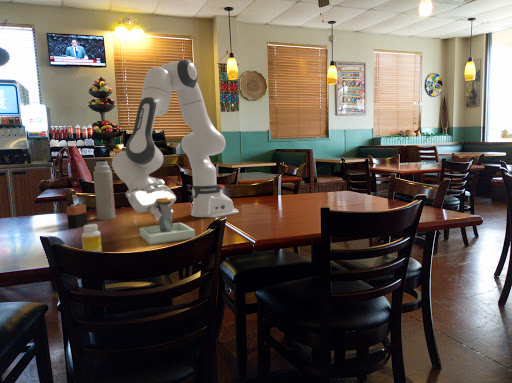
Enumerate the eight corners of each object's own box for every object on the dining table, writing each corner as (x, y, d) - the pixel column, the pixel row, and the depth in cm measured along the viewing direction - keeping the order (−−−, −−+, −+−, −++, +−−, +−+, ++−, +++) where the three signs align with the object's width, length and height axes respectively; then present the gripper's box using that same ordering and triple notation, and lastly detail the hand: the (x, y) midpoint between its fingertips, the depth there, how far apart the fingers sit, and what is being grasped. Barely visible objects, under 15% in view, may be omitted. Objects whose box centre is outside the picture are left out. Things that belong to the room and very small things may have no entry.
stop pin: (171, 228, 142) (169, 196, 141) (176, 231, 137) (174, 198, 136) (156, 230, 140) (154, 198, 138) (160, 233, 135) (158, 200, 133)
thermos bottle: (118, 216, 183) (114, 158, 179) (109, 220, 175) (104, 159, 172) (103, 216, 185) (99, 159, 181) (93, 219, 177) (88, 159, 173)
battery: (88, 225, 166) (86, 202, 164) (75, 228, 159) (73, 205, 158) (80, 224, 167) (78, 202, 166) (67, 228, 161) (65, 204, 160)
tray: (181, 229, 150) (181, 222, 149) (195, 238, 136) (194, 229, 135) (140, 235, 142) (139, 227, 142) (150, 245, 128) (149, 236, 128)
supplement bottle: (82, 255, 119) (79, 225, 118) (99, 251, 122) (97, 222, 121) (85, 259, 115) (83, 227, 113) (104, 255, 118) (101, 225, 116)
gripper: (127, 185, 130) (152, 214, 127) (165, 179, 148) (187, 205, 145) (118, 197, 132) (142, 226, 129) (156, 190, 151) (178, 215, 148)
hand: (166, 215), depth 138 cm, fingers closed on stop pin, 5 cm apart
